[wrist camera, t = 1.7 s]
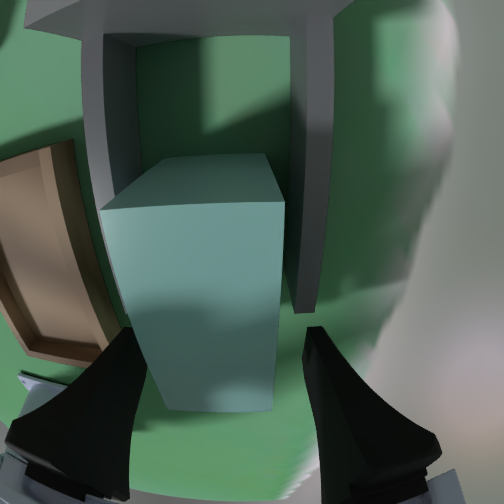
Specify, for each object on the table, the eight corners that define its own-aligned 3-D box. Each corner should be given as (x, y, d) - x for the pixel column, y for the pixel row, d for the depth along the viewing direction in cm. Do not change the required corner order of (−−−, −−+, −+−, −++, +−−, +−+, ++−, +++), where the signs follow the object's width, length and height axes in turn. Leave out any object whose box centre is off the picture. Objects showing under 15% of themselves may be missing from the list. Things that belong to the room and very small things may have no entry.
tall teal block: (262, 329, 15) (270, 426, 10) (190, 330, 15) (175, 424, 10) (264, 152, 11) (284, 201, 6) (165, 157, 11) (99, 210, 6)
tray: (130, 351, 16) (123, 373, 15) (37, 339, 16) (27, 355, 14) (72, 139, 10) (50, 146, 8) (-26, 170, 10) (-46, 181, 8)
